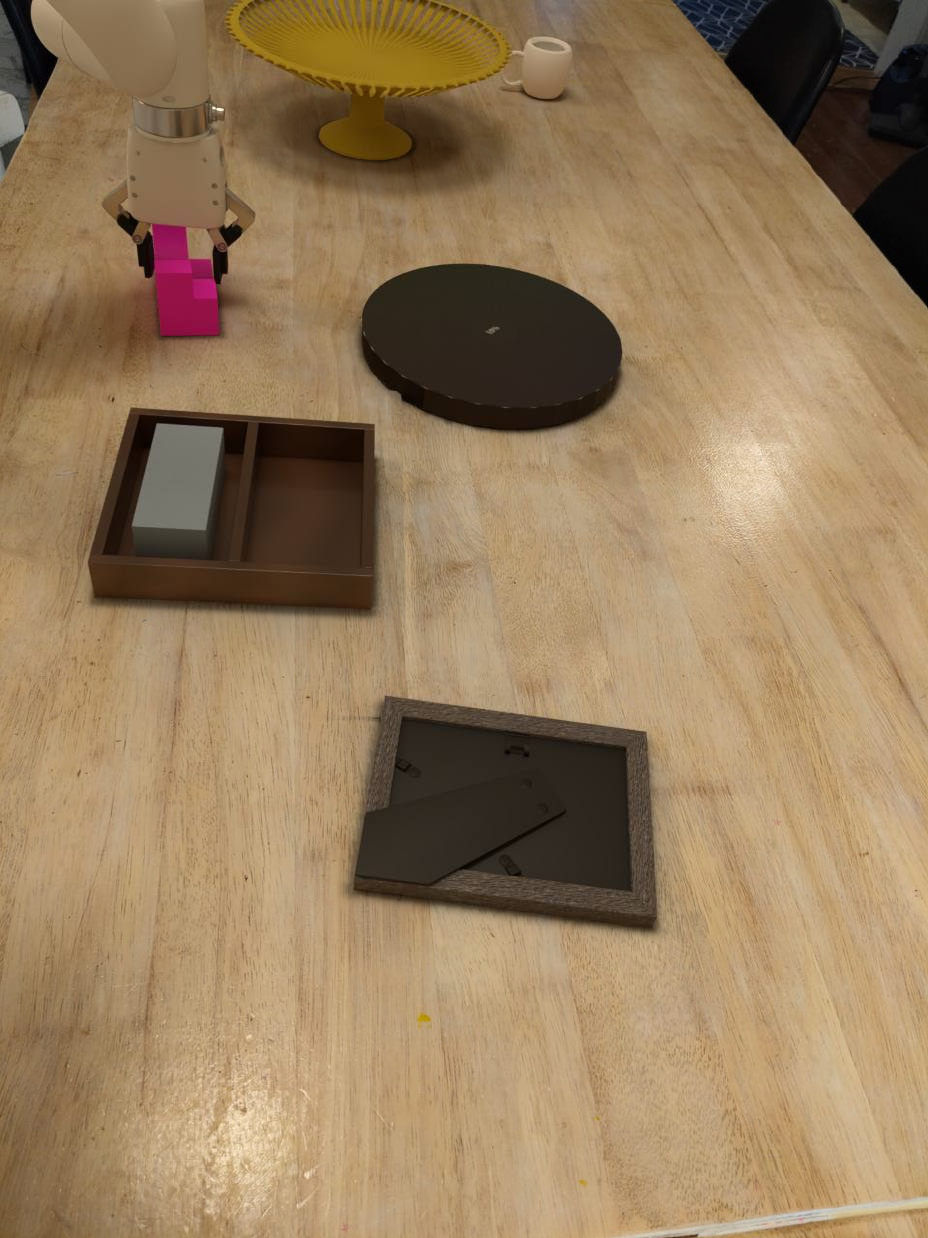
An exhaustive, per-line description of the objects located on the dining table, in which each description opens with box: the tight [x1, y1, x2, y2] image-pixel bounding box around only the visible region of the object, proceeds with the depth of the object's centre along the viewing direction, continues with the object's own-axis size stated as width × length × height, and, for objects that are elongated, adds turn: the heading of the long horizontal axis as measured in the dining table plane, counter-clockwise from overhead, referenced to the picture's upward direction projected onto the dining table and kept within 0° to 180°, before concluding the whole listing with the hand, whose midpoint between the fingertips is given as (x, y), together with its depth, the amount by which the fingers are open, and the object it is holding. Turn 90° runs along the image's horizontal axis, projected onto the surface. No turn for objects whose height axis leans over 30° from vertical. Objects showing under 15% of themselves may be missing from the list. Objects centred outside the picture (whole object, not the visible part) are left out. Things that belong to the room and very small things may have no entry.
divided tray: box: [87, 407, 376, 611], centre depth 93 cm, size 23×21×5 cm
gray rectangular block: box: [132, 423, 226, 560], centre depth 91 cm, size 6×14×5 cm, turn 3°
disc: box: [360, 262, 624, 430], centre depth 118 cm, size 30×30×3 cm
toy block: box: [151, 224, 220, 337], centre depth 116 cm, size 15×6×8 cm, turn 13°
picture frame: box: [353, 695, 658, 928], centre depth 76 cm, size 16×2×21 cm
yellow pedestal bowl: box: [223, 0, 513, 161], centre depth 149 cm, size 40×40×15 cm
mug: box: [499, 36, 573, 100], centre depth 173 cm, size 12×8×8 cm
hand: (184, 274), depth 116 cm, fingers closed on toy block, 7 cm apart
